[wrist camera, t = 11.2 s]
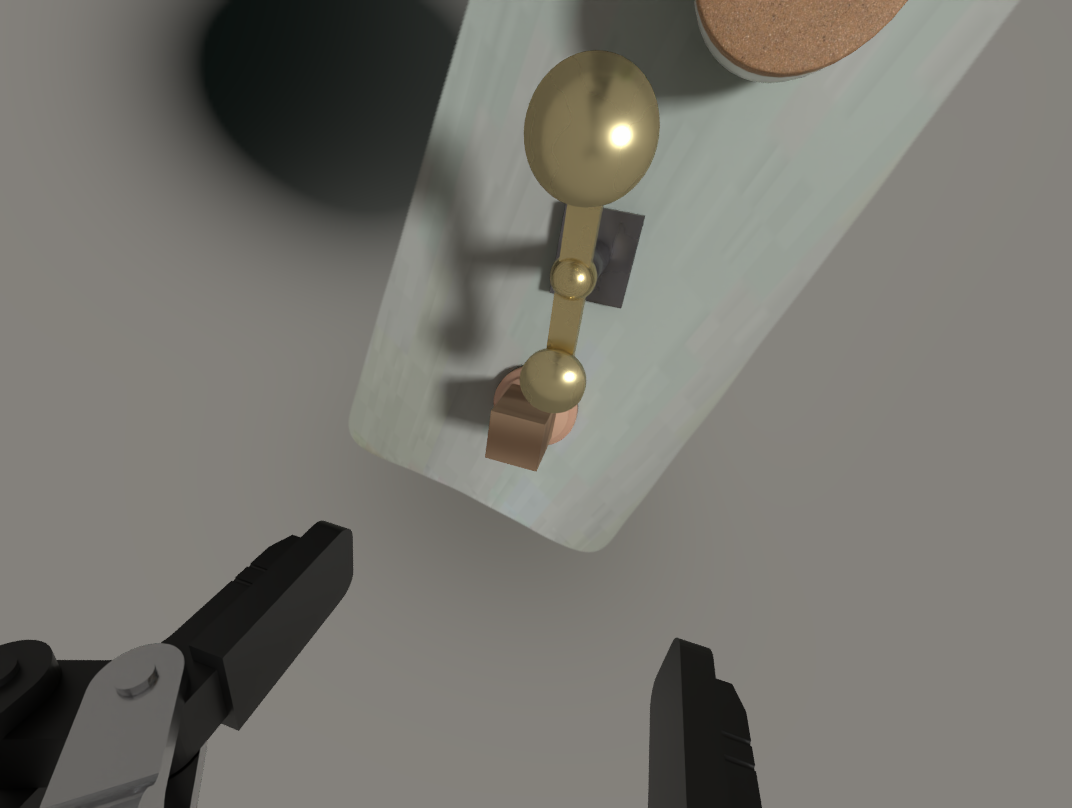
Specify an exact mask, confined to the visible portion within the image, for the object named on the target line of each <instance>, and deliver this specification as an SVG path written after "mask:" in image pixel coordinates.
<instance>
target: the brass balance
mask: <svg viewBox="0 0 1072 808" xmlns="http://www.w3.org/2000/svg"><path fill="white" fill-rule="evenodd" d="M659 129H660V122H659V110H658V104H657V100H656V97H655V94H654V91H653V89H652V87H651V85H650V83H649V81H648V80H647V78H646V76H645V75H644V74H643V73H642V72H641V70H640V69H639V68H638V67H637V66H636V65H634V64H633V63H632V62H631V61H629V60H628V59H626V58H625V57H623V56H620V55H618V54H616V53H612V52H608V51H600V50H593V51H585V52H581V53H577V54H575V55H573V56H570V57H568V58H566V59H565V60H563V61H561V62H560V63H559V64H557V65H556V66H555V67H554V68H552V69H551V70H550V71H549V72H548V74H547V75H546V76H545V77H544V78H543V80H542V81H541V82H540V84H539V85H538V87H537V89H536V90H535V92H534V94H533V96H532V98H531V101H530V103H529V107H528V110H527V113H526V119H525V126H524V144H525V151H526V156H527V159H528V163H529V165H530V168H531V170H532V172H533V174H534V176H535V178H536V179H537V181H538V182H539V183H540V185H541V186H542V187H543V188H544V189H545V190H546V191H547V192H548V193H549V194H550V195H552V196H553V197H554V198H556V199H557V200H559V201H561V202H563V203H566V205H565V210H564V216H563V221H562V227H561V232H560V238H559V243H558V249H557V254H556V260H555V262H554V264H553V266H552V268H551V272H550V282H551V287H550V292H551V293H554V300H553V307H552V314H551V321H550V328H549V335H548V342H547V348H546V349H542V350H539V351H537V352H536V353H534V354H533V355H532V356H531V357H529V359H528V360H527V361H526V363H525V364H524V365H523V367H522V370H521V373H520V387H521V390H522V393H523V395H524V396H525V398H526V399H527V401H528V402H529V403H530V404H531V405H533V406H534V407H535V408H537V409H539V410H541V411H544V412H547V413H562V412H566V411H568V410H570V409H572V408H573V407H575V406H576V405H577V404H578V403H579V401H580V400H581V398H582V396H583V393H584V391H585V388H586V374H585V371H584V368H583V366H582V365H581V363H580V362H579V360H578V359H577V358H576V357H575V351H576V345H577V340H578V335H579V330H580V325H581V320H582V314H583V309H584V304H585V300H586V301H590V302H595V303H599V304H603V305H608V306H612V307H616V308H621V307H622V304H623V300H624V296H625V292H626V288H627V284H628V280H629V277H630V273H631V269H632V265H633V261H634V257H635V253H636V249H637V246H638V242H639V238H640V234H641V230H642V226H643V222H644V218H645V216H644V215H639V214H634V213H629V212H624V211H618V210H613V209H608V208H603V205H606V204H609V203H612V202H614V201H616V200H618V199H620V198H621V197H623V196H624V195H626V194H627V193H628V192H630V191H631V190H632V189H633V188H634V187H635V186H636V185H637V184H638V183H639V182H640V180H641V179H642V178H643V176H644V175H645V173H646V172H647V170H648V168H649V167H650V164H651V162H652V160H653V158H654V155H655V152H656V148H657V144H658V139H659Z"/></svg>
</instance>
